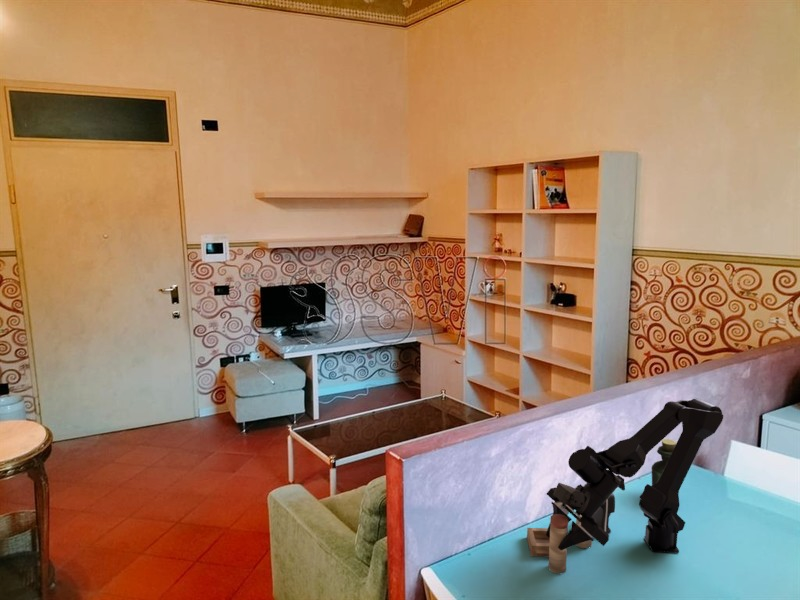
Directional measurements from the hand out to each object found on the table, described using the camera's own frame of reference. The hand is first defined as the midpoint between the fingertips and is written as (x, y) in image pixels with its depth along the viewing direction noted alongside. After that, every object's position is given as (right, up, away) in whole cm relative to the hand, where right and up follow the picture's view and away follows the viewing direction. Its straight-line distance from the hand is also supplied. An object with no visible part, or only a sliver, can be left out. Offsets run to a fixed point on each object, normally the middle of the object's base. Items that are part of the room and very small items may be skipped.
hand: (553, 542), depth 138 cm
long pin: (+1, -7, +2) cm, 7 cm away
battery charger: (+18, -4, +18) cm, 26 cm away
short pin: (+11, -5, +11) cm, 16 cm away
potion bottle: (+41, -1, +32) cm, 52 cm away
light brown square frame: (+1, -5, +10) cm, 11 cm away
